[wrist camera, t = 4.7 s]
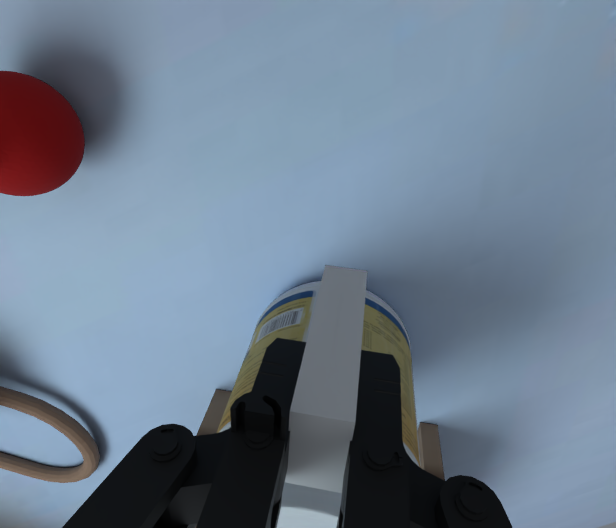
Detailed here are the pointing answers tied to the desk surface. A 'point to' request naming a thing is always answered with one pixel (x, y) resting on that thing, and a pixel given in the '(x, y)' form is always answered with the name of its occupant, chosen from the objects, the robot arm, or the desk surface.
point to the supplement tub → (295, 326)
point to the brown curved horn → (63, 425)
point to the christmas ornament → (36, 136)
